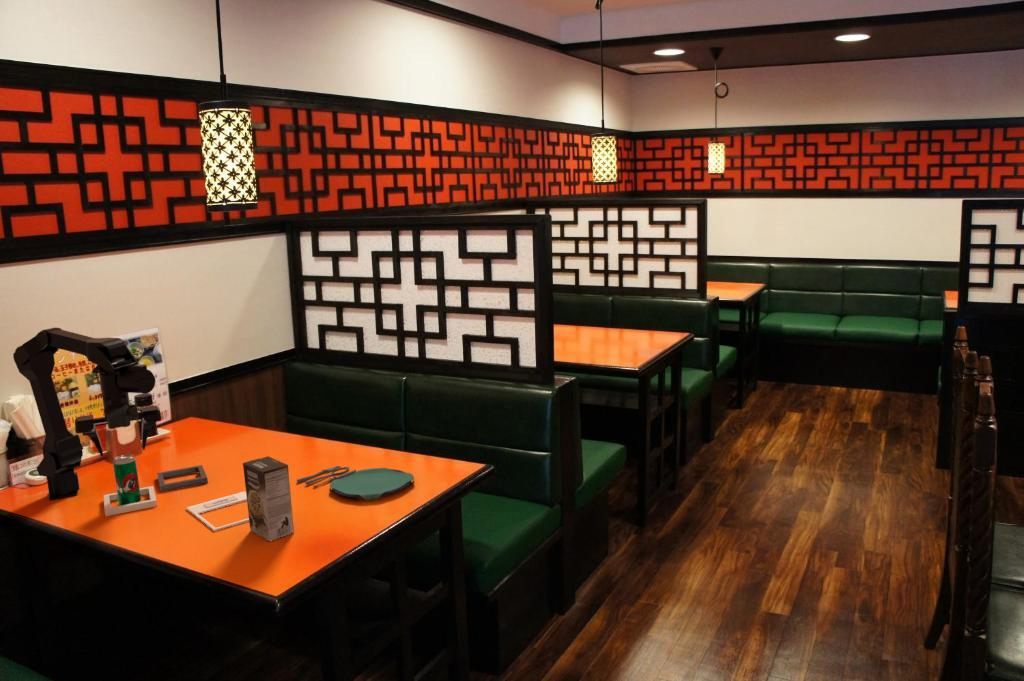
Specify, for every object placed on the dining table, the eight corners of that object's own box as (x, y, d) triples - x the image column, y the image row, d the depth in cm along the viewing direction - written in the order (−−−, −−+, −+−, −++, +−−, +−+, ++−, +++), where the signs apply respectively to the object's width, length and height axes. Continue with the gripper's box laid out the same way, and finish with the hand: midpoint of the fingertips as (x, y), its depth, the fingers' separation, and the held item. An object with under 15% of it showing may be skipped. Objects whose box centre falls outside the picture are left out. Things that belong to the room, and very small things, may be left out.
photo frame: (244, 490, 208) (275, 510, 194) (245, 494, 208) (276, 514, 194) (186, 506, 198) (214, 528, 185) (186, 511, 199) (214, 533, 185)
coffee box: (248, 531, 184) (241, 462, 181) (275, 522, 189) (268, 454, 186) (269, 542, 178) (261, 471, 175) (295, 533, 182) (288, 463, 179)
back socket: (161, 491, 211) (160, 486, 211) (157, 478, 221) (156, 473, 221) (207, 482, 216) (207, 477, 216) (202, 470, 226) (201, 465, 226)
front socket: (105, 516, 196) (104, 510, 196) (104, 500, 206) (103, 494, 206) (157, 506, 201) (156, 500, 201) (153, 491, 211) (153, 485, 211)
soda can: (145, 499, 206) (139, 453, 204) (134, 507, 201) (127, 460, 199) (126, 499, 207) (119, 453, 204) (114, 507, 202) (108, 460, 199)
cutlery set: (372, 509, 194) (371, 500, 194) (289, 487, 212) (288, 479, 212) (428, 483, 210) (427, 474, 210) (347, 465, 228) (346, 457, 227)
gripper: (70, 404, 188) (80, 469, 191) (159, 392, 196) (166, 455, 199) (71, 394, 198) (80, 456, 201) (155, 383, 206) (163, 442, 209)
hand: (123, 452), depth 202 cm, fingers open, 9 cm apart
